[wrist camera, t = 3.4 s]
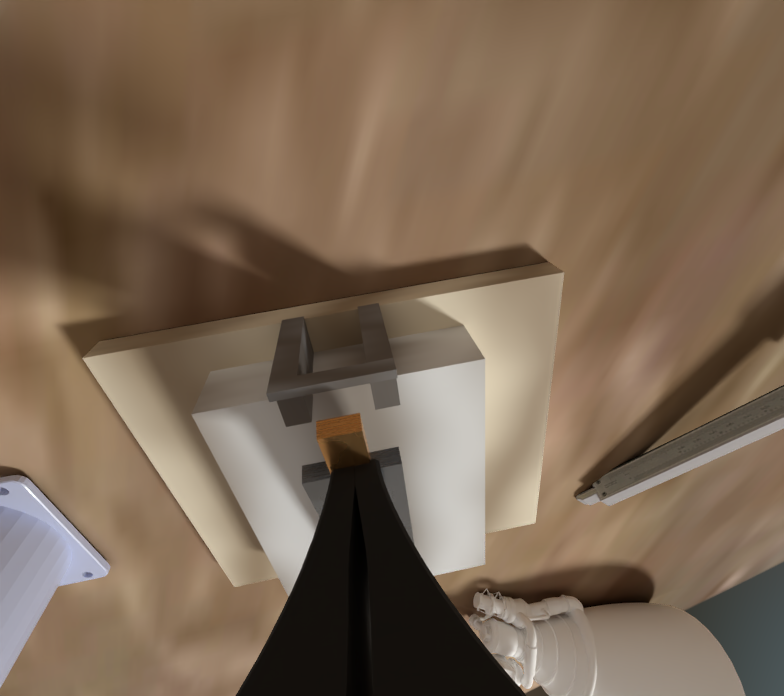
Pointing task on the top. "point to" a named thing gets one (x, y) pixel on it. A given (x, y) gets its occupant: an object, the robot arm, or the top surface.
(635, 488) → the caliper
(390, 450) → the grey flat bar
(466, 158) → the top surface
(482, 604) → the rocket engine
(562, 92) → the top surface
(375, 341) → the base board
